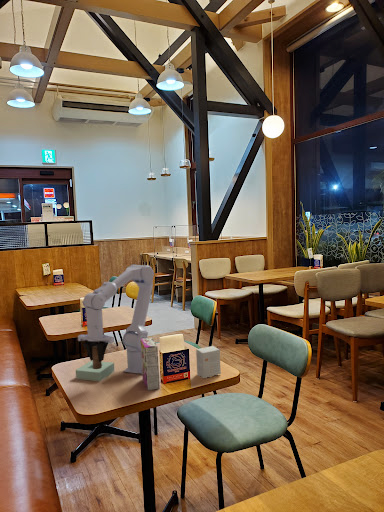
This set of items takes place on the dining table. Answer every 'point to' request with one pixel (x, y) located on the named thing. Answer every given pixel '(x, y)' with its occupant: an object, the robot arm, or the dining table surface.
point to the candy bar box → (150, 363)
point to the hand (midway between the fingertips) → (97, 360)
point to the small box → (208, 361)
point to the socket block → (94, 371)
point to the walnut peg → (96, 358)
